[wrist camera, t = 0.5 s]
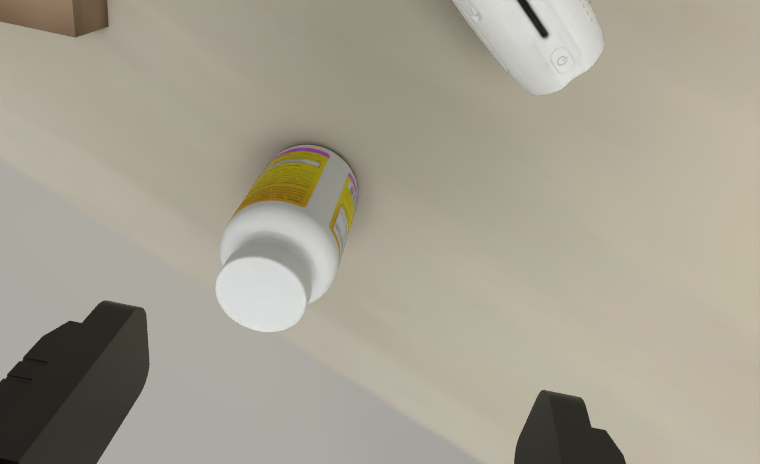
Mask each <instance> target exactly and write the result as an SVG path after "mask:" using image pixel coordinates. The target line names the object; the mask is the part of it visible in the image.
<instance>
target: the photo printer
mask: <svg viewBox="0 0 760 464" xmlns="http://www.w3.org/2000/svg"><path fill="white" fill-rule="evenodd" d="M452 1H453V3H454V4H455V6H456V7H457V8H458V10H459V11H460V13H461V14H462V15H463V17H464V18H465V20H466V21H467V23H468V24H469V25H470V27H471V28H472V29H473V31H474V32H475V33H476V35H477V36H478V37H479V39H480V40H481V41H482V43H483V44H484V45H485V47H486V48H487V49H488V51H489V52H490V53H491V55H492V56H493V57H494V58H495V60H496V61H497V62H498V63H499V64H500V65H501V67H502V68H503V69H504V70H505V71H506V72H507V73H508V74H509V75H510V76H511V77H512V78H513V79H514V80H515V81H516V82H517V83H518V84H519V85H520V86H521V87H523V88H524V89H525V90H526V91H528V92H529V93H531V94H532V95H535V96H542V95H547V94H550V93H553V92H556V91H558V90H560V89H562V88H563V87H564V86H566V85H567V84H568V83H569V82H570V81H571V80H572V79H574V78H575V77H576V76H578V75H580V74H582V73H584V72H586V71H587V70H588V69H589V68H590V67H591V66H592V65H593V64H594V63H595V62H596V60H597V59H598V58H599V56H600V54H601V53H602V51H603V48H604V40H603V36H602V32H601V29H600V26H599V23H598V20H597V18H596V16H595V14H594V11H593V10H592V8H591V5H590V4H589V2H588V0H452Z"/></svg>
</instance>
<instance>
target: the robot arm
mask: <svg viewBox="0 0 760 464" xmlns="http://www.w3.org/2000/svg"><path fill="white" fill-rule="evenodd" d="M148 371H149V349H148V334H147V319H146V312H145V310H144V309H143V308H141V307H136V306H131V305H126V304H121V303H115V302H111V301H103V302H101V303H99V304H98V305H97V306H96V307H95V309H94V310H93V311H92V312H91V313H90V315H88V317H87V318H86V319H85V320H84V321H83V323H78V322H73V321H68V322H67V323H65V324H63V325H61V326H60V327H58V328H56V329H55V330H53V331H51V332H50V333H48V334H46V335H44V336H43V337H42V338H41V339H40V340H39V341H38V342H37V343H36V344H35V345H34V346H33V347H32V348H31V350H30V351H29V352H28V353H27V354H26V355H25V356H24V358H23V361H22V362H21V361H19V363H17V365H16V366H15V367H14V368H13V369H12V370H11V371H10V372H9V373H8V374H7V378H6V379H3V380H2V381H1V382H0V464H97V462H98V460H99V459H100V457H101V456H102V454H103V452H104V451H105V449H106V448H107V446H108V444H109V443H110V441H111V440H112V438H113V436H114V435H115V433H116V432H117V430H118V428H119V427H120V425H121V424H122V422H123V420H124V419H125V417H126V416H127V414H128V413H129V411H130V409H131V408H132V406H133V405H134V403H135V401H136V400H137V398H138V397H139V395H140V393H141V391H142V389H143V387H144V385H145V382H146V379H147V376H148ZM514 464H626V462H625V459H624V456H623V454H622V453H621V451H620V450H619V448H618V447H617V446H616V444H615V443H614V441H613V440H612V439H611V437H610V436H609V434H608V433H607V432H606V430H602V429H597V428H592V427H591V424H590V420H589V417H588V413H587V409H586V406H585V403H584V401H583V399H582V398H580V397H576V396H571V395H566V394H561V393H556V392H551V391H546V390H542V391H541V392H540V393H539V395H538V396H537V399H536V401H535V403H534V405H533V407H532V410H531V412H530V414H529V416H528V419H527V421H526V423H525V425H524V427H523V430H522V432H521V434H520V436H519V439H518V442H517V446H516V451H515V460H514Z"/></svg>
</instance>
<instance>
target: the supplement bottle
mask: <svg viewBox="0 0 760 464" xmlns="http://www.w3.org/2000/svg"><path fill="white" fill-rule="evenodd" d="M357 199H358V188H357V183H356V179H355V177H354V174H353V172H352V171H351V169H350V167H349V166H348V165H347V163H346V162H345V161H344V160H343V159H342V158H341V157H339V156H338V155H337V154H335V153H334V152H332V151H330V150H328V149H326V148H323V147H320V146H315V145H298V146H293V147H290V148H288V149H285V150H283V151H282V152H280V153H279V154H277V155H276V156H275V157H274V158H273V159H272V160H271V161H270V163H269V164H268V165H267V167H266V168H265V170H264V171H263V172H262V174H261V175H260V177H259V178H258V180H257V181H256V183H255V184H254V186H253V187H252V189H251V190H250V192H249V193H248V195H247V196H246V198H245V199H244V200H243V202H242V203H241V205H240V206H239V208H238V209H237V211H236V212H235V214H234V215H233V217H232V218H231V220H230V221H229V223H228V224H227V226H226V228H225V230H224V232H223V235H222V238H221V242H220V259H221V263H222V269H221V270H220V272H219V274H218V277H217V280H216V295H217V299H218V301H219V303H220V305H221V307H222V308H223V310H224V311H225V312H226V313H227V315H229V316H230V317H231V318H232V319H233V320H234V321H236V322H237V323H239V324H241V325H242V326H245V327H247V328H250V329H253V330H257V331H262V332H276V331H281V330H285V329H287V328H289V327H291V326H293V325H294V324H295V323H297V322H298V321H299V320H300V318H301V317H302V316H303V314H304V312H305V310H306V307H307V305H308V304H310V303H312V302H314V301H316V300H317V299H318V298H320V297H321V296H322V295H323V294H324V293H325V292H326V291H327V290H328V289H329V287H330V286H331V285H332V283H333V281H334V279H335V276H336V273H337V270H338V267H339V263H340V260H341V256H342V253H343V249H344V246H345V242H346V239H347V236H348V233H349V229H350V226H351V223H352V219H353V216H354V212H355V209H356V204H357Z"/></svg>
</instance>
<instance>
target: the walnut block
mask: <svg viewBox="0 0 760 464" xmlns="http://www.w3.org/2000/svg"><path fill="white" fill-rule="evenodd" d="M0 21H1V22H6V23H10V24H15V25H20V26H24V27H29V28H34V29H38V30H43V31H48V32H52V33H57V34H62V35H66V36H71V37H78V36H81V35H84V34H87V33H90V32H93V31H96V30H99V29H102V28H105V27H108V9H107V0H0Z"/></svg>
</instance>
